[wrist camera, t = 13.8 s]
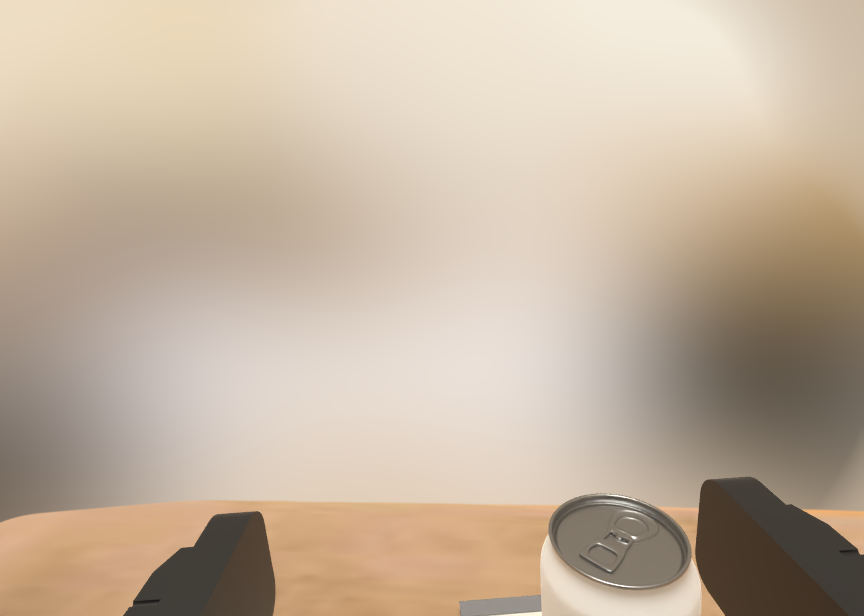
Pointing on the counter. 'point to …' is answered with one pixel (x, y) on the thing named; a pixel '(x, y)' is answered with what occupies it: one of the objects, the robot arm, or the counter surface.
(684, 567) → the can
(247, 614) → the robot arm
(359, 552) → the counter surface
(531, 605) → the notepad
